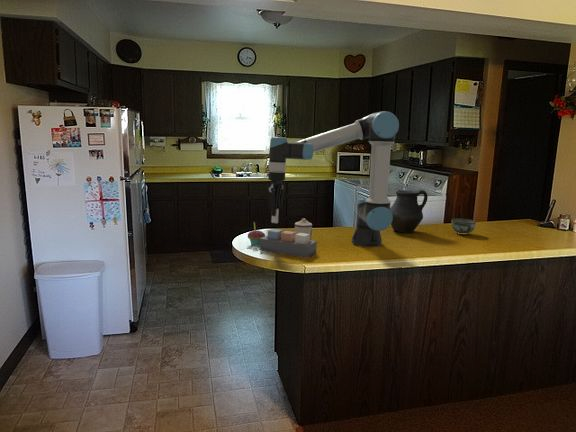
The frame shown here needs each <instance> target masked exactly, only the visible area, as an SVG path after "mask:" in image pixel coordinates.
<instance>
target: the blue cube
mask: <svg viewBox="0 0 576 432" xmlns="http://www.w3.org/2000/svg"><path fill="white" fill-rule="evenodd" d="M282 232H283V229H277V228H272V229H268V230H267V236H268V239H273V240H279V239H281V233H282Z"/></svg>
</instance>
